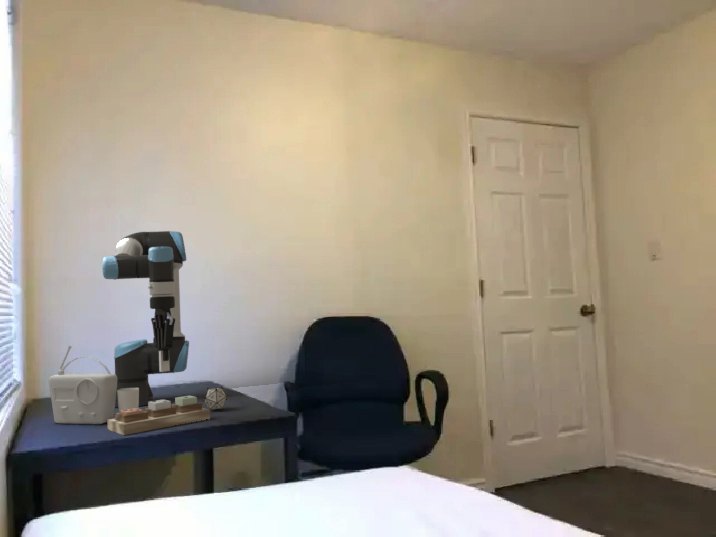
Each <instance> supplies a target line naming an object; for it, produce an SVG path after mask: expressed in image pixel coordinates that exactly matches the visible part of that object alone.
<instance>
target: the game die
mask: <svg viewBox="0 0 716 537" xmlns="http://www.w3.org/2000/svg"><path fill="white" fill-rule="evenodd" d="M206 389H207V391H206V395H205V397H203V399H204V400H202V402H201V403H204V404H206V406H207V409H209V410H210V411H211V410H213V411H214V410H221V409H222V410H223V411H225V408H224V407H225V403H226V401H227V400H228V398H229V395H227V394H226V393H225V391H224V389H223V385H221V386H220V387H216V388H209V387H208V386H207V387H206Z"/></svg>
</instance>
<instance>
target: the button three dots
mask: <svg viewBox="0 0 716 537" xmlns="http://www.w3.org/2000/svg"><path fill="white" fill-rule="evenodd" d="M143 411H144V409H141V408H139V409H138V408H133V409H127V410H120V414H124V415H130V414H136V413H143Z"/></svg>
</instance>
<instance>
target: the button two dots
mask: <svg viewBox="0 0 716 537" xmlns="http://www.w3.org/2000/svg"><path fill="white" fill-rule="evenodd" d="M171 404H172V403H171V400H167V399H157V400H154V401H151V402H148V407H147V408H148V409H151V410H161V409H167V408H171Z"/></svg>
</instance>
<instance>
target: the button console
mask: <svg viewBox="0 0 716 537" xmlns="http://www.w3.org/2000/svg"><path fill="white" fill-rule="evenodd" d="M206 419H208V420H210V419H211V410H209V408H204V407H203V402H199V401H197V404H191V405H185V406H180V405H176V404H175V402H174V403H171V408H167V409H161V410H151V409H148V407H144V408H143V413H136V414H130V415H124V414H120V412H119V411H118V412H114V418H113V419H108V420H107V422H106V424H107V430H109V431H111V432H114V433H117V434H119V435H122V436H127V435H132V434H136V433H143V432H149V431H153V430H158V429H164V428H170V427H175V425H176V426H179V425H180V424H181V425H186V424H190V423H191V422H192V423H197V422H202V421H206ZM201 420H202V421H201ZM196 421H197V422H196ZM185 423H186V424H185ZM181 425H180V426H181Z"/></svg>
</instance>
